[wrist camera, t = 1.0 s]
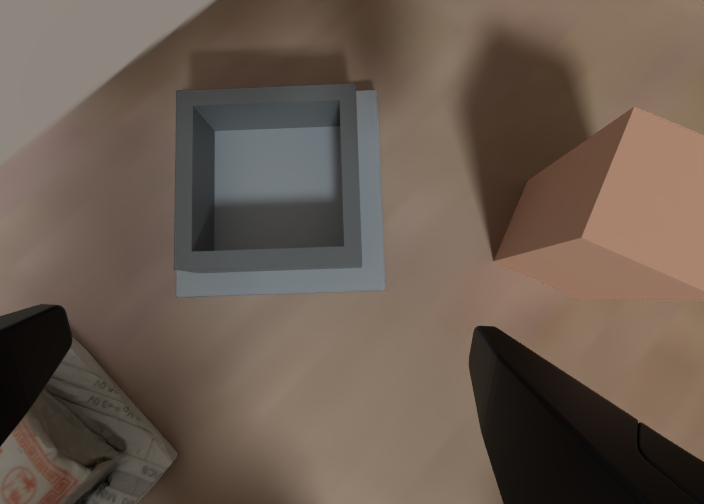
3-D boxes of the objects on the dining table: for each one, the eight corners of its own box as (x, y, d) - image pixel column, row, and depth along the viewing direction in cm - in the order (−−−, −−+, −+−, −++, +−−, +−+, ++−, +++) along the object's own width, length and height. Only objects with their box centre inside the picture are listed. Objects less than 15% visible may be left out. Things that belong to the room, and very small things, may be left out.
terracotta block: (579, 299, 22) (726, 300, 13) (493, 261, 23) (581, 237, 14) (612, 216, 23) (775, 164, 14) (527, 180, 23) (634, 106, 14)
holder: (384, 290, 23) (389, 288, 19) (184, 296, 23) (147, 296, 19) (376, 98, 24) (379, 58, 20) (186, 106, 24) (152, 67, 20)
